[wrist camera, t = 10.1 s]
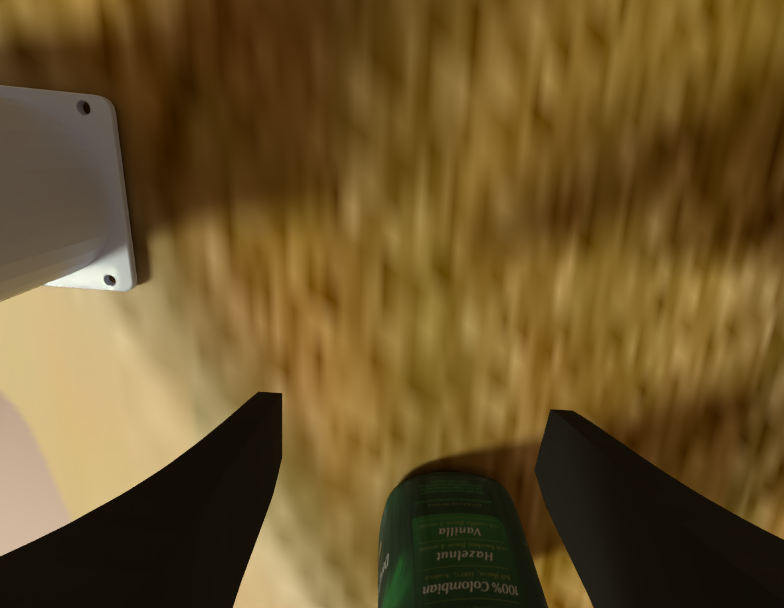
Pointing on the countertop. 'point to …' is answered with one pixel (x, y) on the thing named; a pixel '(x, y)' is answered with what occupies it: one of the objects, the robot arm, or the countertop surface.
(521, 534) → the coffee jar
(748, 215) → the countertop surface
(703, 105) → the countertop surface
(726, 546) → the robot arm
